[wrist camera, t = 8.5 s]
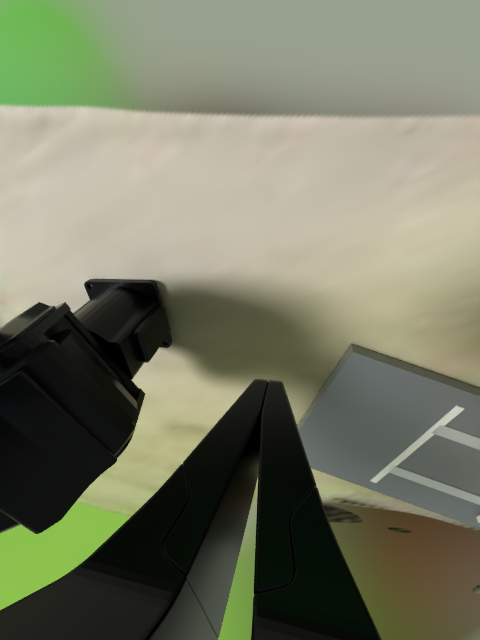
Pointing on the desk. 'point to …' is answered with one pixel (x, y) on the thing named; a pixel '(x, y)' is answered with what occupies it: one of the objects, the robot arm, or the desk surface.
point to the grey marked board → (398, 433)
